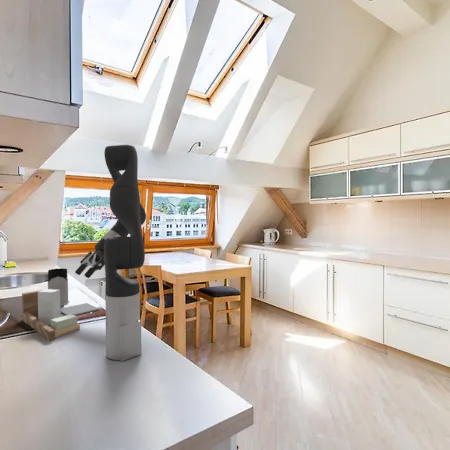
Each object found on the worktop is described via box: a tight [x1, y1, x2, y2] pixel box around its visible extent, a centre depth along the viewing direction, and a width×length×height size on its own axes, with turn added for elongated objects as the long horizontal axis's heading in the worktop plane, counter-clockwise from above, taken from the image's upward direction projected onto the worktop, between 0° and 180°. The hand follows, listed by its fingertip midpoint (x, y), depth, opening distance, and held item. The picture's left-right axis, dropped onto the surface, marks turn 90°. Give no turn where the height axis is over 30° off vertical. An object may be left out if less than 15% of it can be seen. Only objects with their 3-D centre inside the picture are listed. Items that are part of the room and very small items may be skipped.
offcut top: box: [50, 314, 79, 330], centre depth 106 cm, size 4×7×2 cm, turn 146°
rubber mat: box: [60, 302, 100, 316], centre depth 130 cm, size 12×12×1 cm
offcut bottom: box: [49, 322, 81, 338], centre depth 106 cm, size 5×8×2 cm, turn 140°
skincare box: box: [37, 288, 62, 326], centre depth 114 cm, size 6×4×12 cm
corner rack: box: [21, 289, 55, 342], centre depth 112 cm, size 28×10×10 cm, turn 47°
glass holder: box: [47, 268, 70, 307], centre depth 141 cm, size 9×14×15 cm, turn 28°
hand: (81, 275), depth 122 cm, fingers open, 8 cm apart
